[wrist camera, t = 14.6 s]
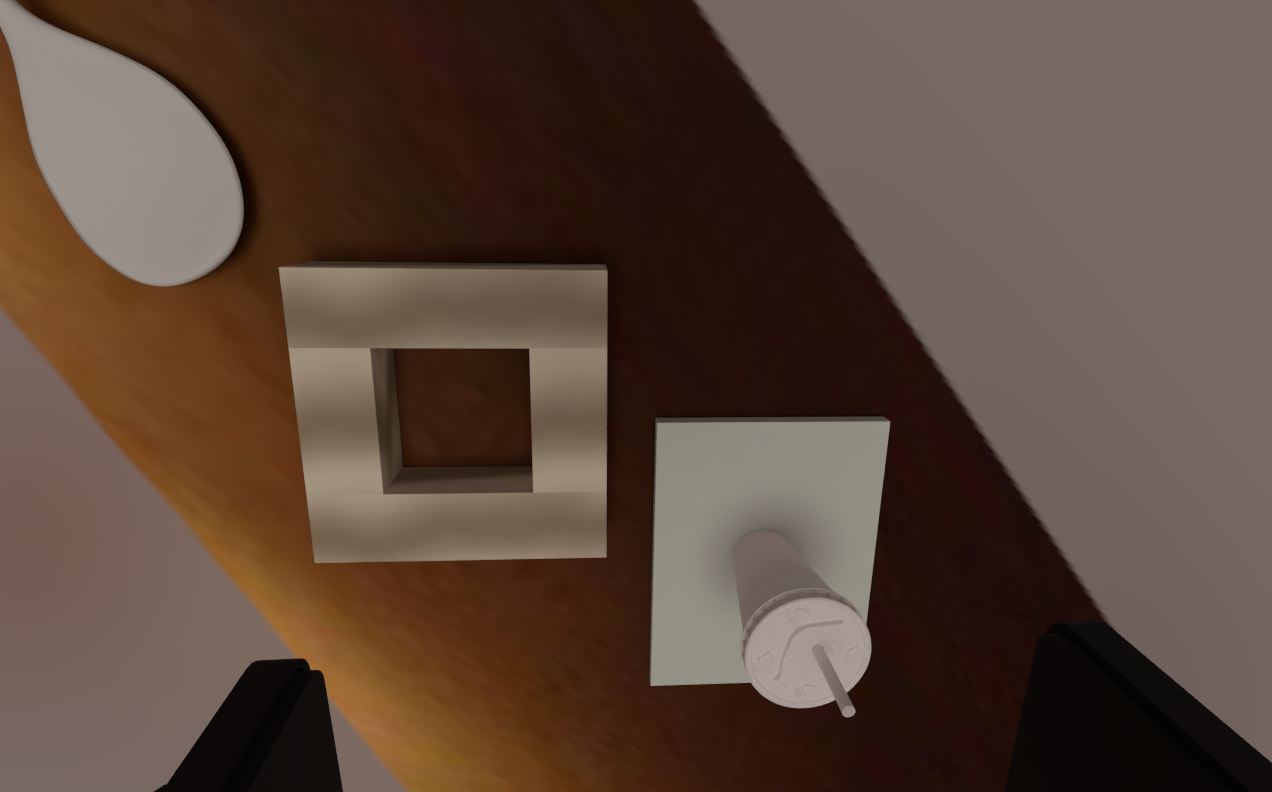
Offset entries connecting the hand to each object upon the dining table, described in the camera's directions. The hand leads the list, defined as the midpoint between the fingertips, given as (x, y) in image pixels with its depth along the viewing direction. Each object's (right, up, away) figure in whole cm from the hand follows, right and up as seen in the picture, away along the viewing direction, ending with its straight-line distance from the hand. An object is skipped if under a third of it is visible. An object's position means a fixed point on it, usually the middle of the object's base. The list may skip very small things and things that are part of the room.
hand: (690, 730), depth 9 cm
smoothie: (+7, -6, +34) cm, 35 cm away
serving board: (+7, -6, +34) cm, 36 cm away
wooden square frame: (-10, +4, +31) cm, 33 cm away
